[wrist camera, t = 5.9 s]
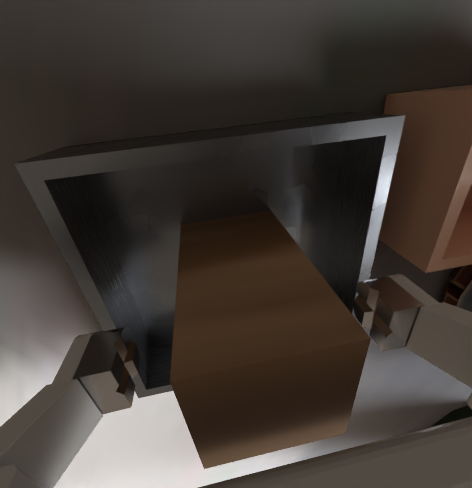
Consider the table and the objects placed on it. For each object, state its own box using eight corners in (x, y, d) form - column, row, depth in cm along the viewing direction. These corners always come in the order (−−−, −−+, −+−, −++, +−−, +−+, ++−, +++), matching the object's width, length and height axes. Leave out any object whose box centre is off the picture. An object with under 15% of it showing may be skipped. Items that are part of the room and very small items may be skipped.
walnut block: (180, 224, 11) (169, 381, 5) (271, 210, 11) (370, 338, 5) (197, 295, 13) (204, 469, 7) (273, 281, 13) (345, 433, 7)
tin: (64, 146, 9) (14, 163, 6) (349, 112, 10) (405, 115, 7) (147, 345, 14) (138, 398, 12) (325, 310, 16) (353, 351, 13)
